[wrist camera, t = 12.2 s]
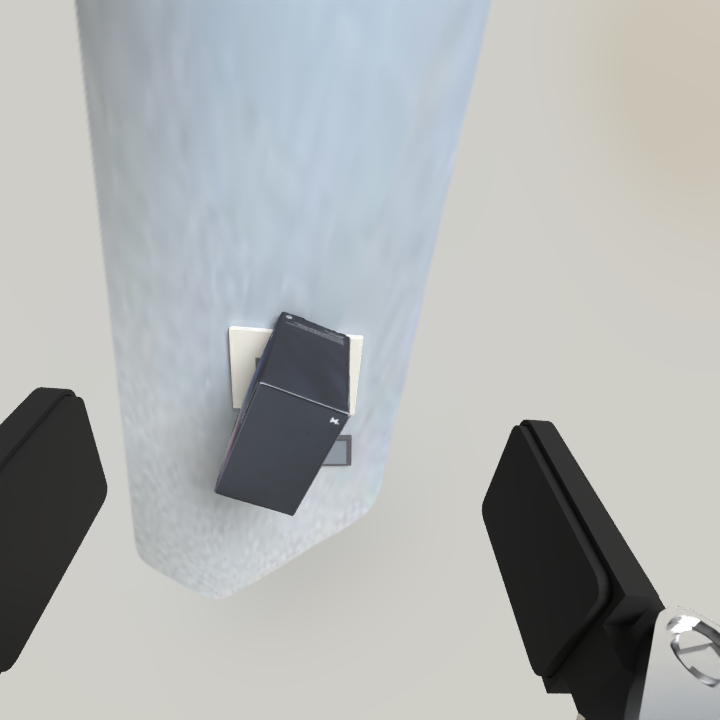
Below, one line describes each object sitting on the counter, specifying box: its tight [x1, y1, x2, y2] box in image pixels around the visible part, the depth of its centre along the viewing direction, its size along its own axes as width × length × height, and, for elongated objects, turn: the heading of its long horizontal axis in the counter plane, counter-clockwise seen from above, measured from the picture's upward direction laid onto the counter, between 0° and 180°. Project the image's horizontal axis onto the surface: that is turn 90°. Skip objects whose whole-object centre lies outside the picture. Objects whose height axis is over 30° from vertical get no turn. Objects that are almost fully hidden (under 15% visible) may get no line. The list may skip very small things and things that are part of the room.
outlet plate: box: [229, 326, 363, 415], centre depth 38 cm, size 8×11×1 cm
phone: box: [322, 435, 351, 466], centre depth 44 cm, size 4×7×1 cm, turn 89°
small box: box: [214, 312, 351, 516], centre depth 33 cm, size 11×6×10 cm, turn 156°
